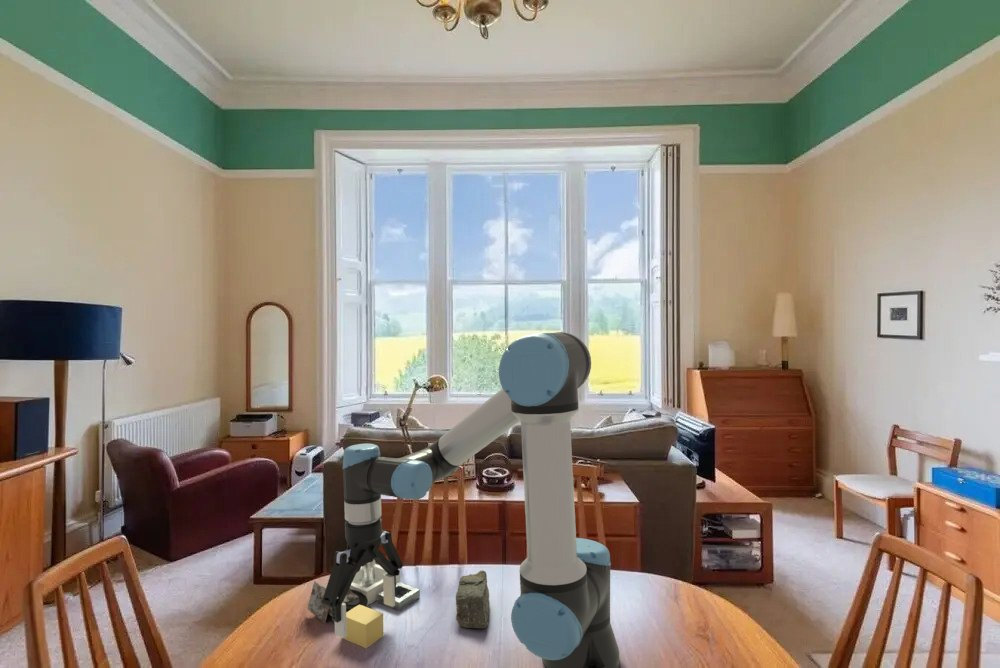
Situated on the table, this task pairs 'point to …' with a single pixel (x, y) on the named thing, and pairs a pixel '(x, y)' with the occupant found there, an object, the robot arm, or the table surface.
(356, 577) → the tray
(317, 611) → the caster wheel
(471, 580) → the rock
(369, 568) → the pin
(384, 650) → the table surface
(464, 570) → the table surface
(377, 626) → the block
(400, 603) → the pin socket
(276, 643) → the table surface
